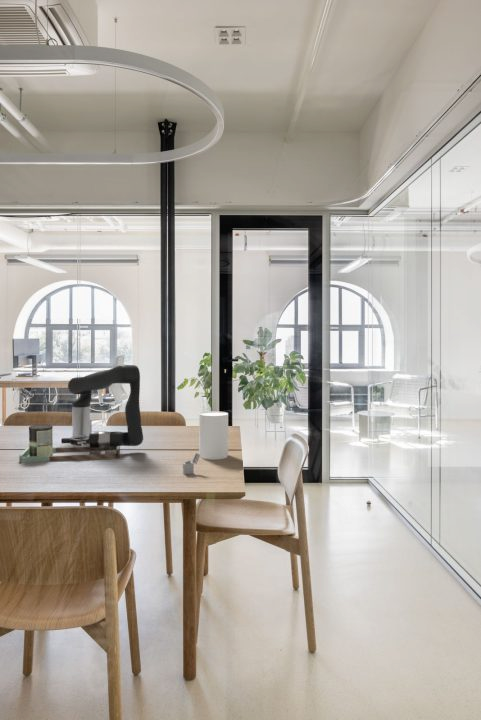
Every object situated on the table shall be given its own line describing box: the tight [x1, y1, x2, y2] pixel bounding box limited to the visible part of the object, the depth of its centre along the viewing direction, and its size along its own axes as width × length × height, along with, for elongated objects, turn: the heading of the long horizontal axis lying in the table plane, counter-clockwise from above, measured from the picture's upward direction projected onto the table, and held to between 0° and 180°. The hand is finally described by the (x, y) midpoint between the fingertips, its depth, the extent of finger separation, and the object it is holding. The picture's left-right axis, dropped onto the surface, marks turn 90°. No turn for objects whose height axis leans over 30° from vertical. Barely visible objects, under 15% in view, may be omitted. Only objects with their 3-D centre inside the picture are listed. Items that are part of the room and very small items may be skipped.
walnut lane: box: [18, 445, 121, 463], centre depth 235 cm, size 42×18×2 cm, turn 102°
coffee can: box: [28, 424, 54, 457], centre depth 232 cm, size 10×10×14 cm
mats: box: [88, 450, 116, 454], centre depth 237 cm, size 12×14×1 cm
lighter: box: [182, 452, 200, 476], centre depth 206 cm, size 7×2×8 cm, turn 118°
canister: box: [198, 410, 229, 461], centre depth 235 cm, size 14×14×20 cm
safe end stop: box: [18, 445, 57, 463], centre depth 232 cm, size 13×18×3 cm
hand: (61, 440), depth 233 cm, fingers closed
